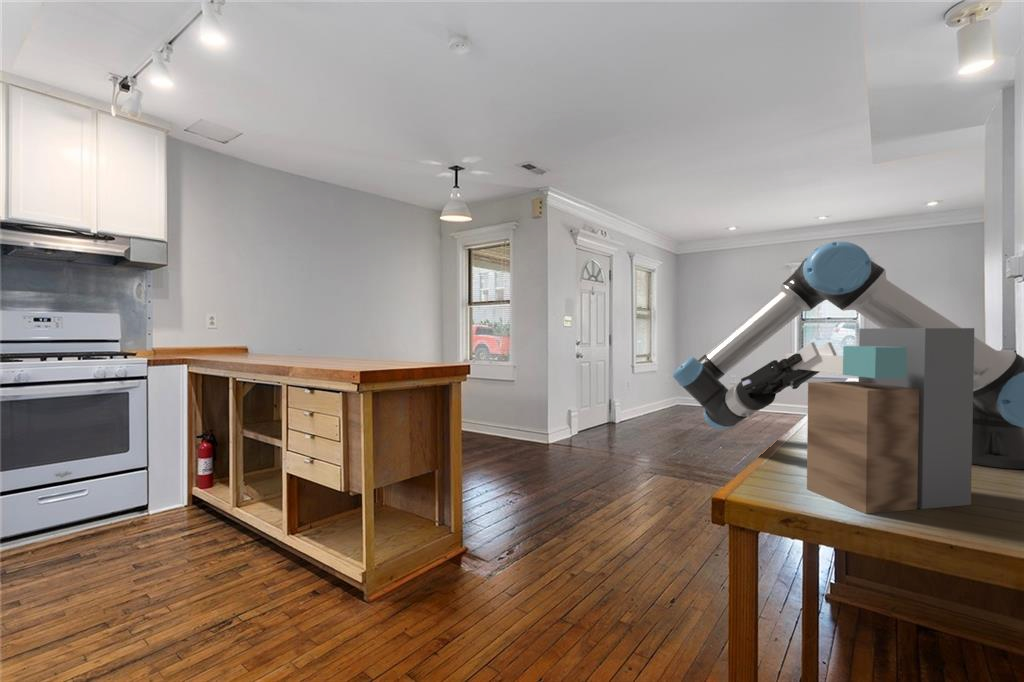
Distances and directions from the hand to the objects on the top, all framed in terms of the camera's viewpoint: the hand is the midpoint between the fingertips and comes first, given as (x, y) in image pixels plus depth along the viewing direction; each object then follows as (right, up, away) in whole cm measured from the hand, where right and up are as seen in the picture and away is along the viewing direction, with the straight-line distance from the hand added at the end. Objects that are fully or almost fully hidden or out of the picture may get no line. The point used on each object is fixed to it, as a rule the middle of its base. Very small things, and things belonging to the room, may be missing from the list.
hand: (823, 348), depth 89 cm
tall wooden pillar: (+2, -26, -6) cm, 27 cm away
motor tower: (+13, -26, -4) cm, 30 cm away
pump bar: (0, -4, -2) cm, 5 cm away
